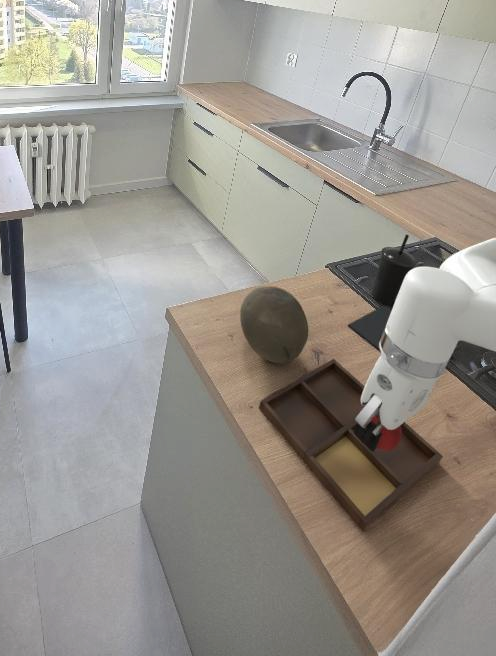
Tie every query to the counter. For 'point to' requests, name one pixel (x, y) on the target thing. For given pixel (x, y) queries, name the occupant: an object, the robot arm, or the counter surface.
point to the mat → (373, 326)
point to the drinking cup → (392, 273)
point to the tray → (346, 443)
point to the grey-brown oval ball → (274, 324)
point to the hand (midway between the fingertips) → (377, 430)
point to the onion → (388, 436)
